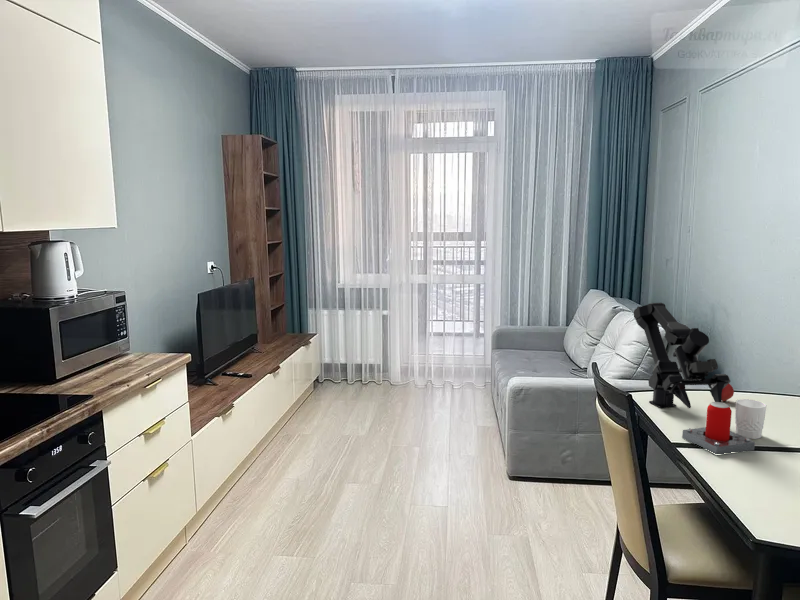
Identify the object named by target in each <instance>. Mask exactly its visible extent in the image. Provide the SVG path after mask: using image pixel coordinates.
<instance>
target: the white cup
mask: <svg viewBox="0 0 800 600" xmlns="http://www.w3.org/2000/svg"><path fill="white" fill-rule="evenodd" d="M766 411H767V404H766V403H764V402H762V401H760V400H755V399H749V398H748V399H747V398H739V399H737V400H735V415H734V416H735V418H734V419H735V420H734V421H735V431H734V433H736V434H739V435H741V436H743V437H745V438H749V439H750V440H756V439H758V440H759V439H761V438H762V435H763V429H764V424H765V420H766V414H767V413H766Z"/></svg>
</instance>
